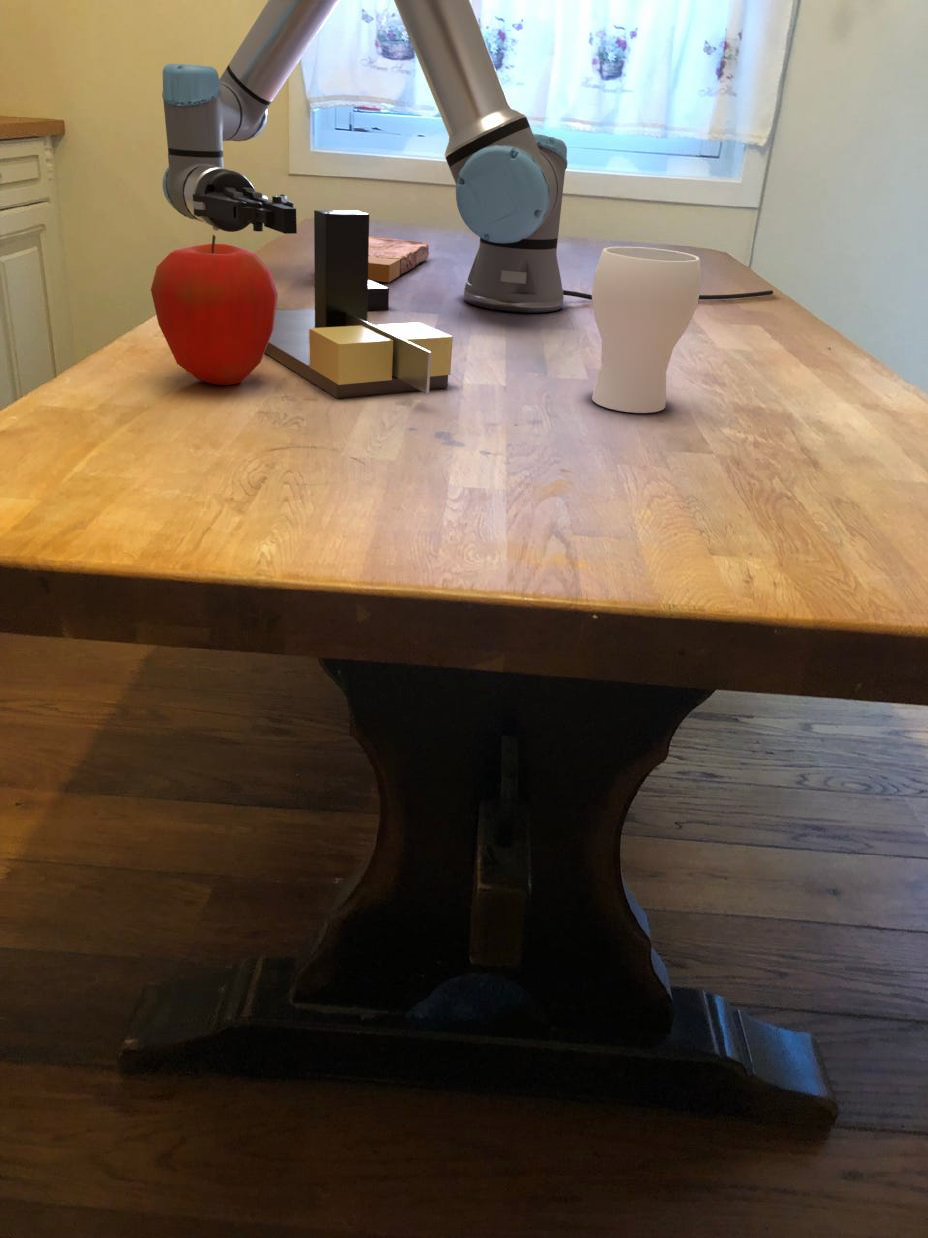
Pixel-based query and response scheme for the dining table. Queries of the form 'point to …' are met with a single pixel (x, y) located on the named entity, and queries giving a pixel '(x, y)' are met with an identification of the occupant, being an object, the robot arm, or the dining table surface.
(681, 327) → the cup
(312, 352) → the butter
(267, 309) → the apple
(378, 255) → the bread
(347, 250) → the butter slicer
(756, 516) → the dining table surface
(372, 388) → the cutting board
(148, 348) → the dining table surface
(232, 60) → the robot arm
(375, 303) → the dark rectangular block
